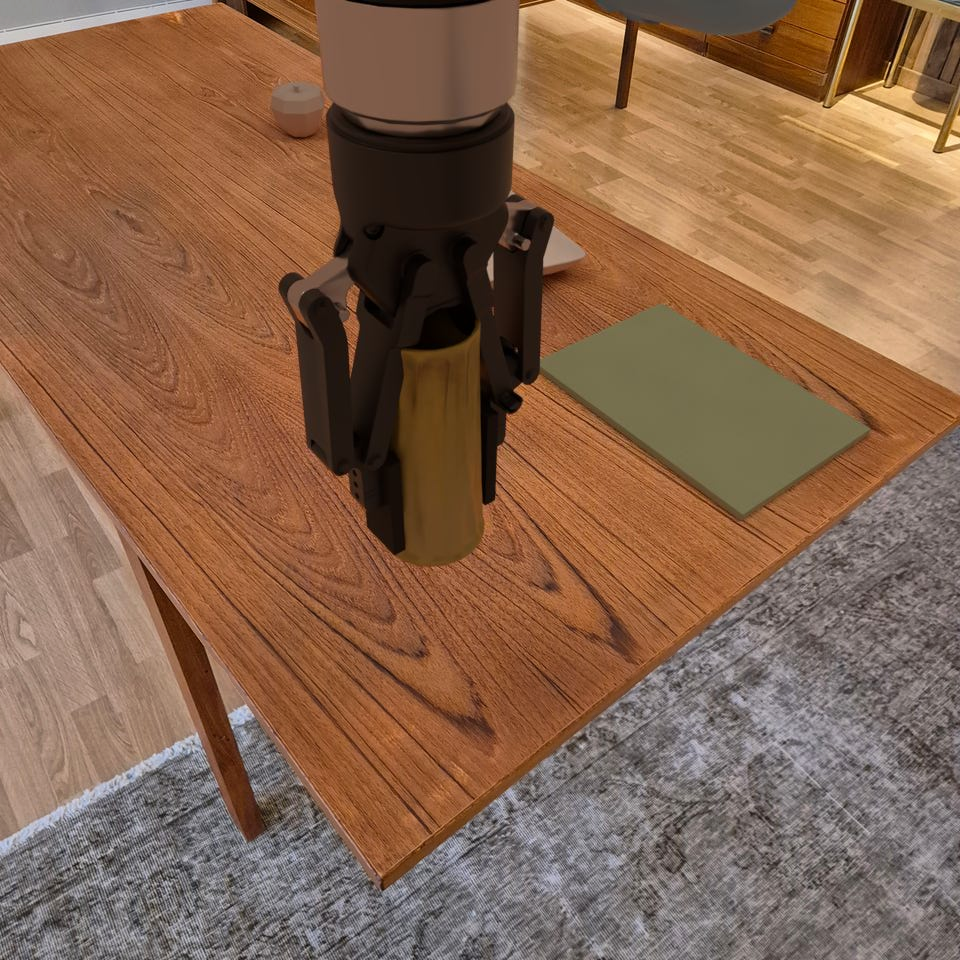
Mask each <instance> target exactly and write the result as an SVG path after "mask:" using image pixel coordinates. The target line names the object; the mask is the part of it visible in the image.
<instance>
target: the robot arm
mask: <svg viewBox="0 0 960 960" xmlns="http://www.w3.org/2000/svg"><path fill="white" fill-rule="evenodd" d="M520 1H521V0H314V9H315V15H316V16H315V18H316V27H317V36H318V46H319V48H318V49H319V59H320V66H321V67H320V68H321V77H322V86H323V93H325V95H326V96H327V98H328V99H329V100H330V101H331V102H332V103H331V105H330V106H329V108H328V109H327V110H326V114H325V124H326V135H327V144H328V155H329V163H330V164H329V165H330V173H331V183H332V190H333V195H334V199H335V202H336V206H337V208H338V209H337V210H338V214H339V228H338V232H337V237H336V239H335V242H334V245H333V248H332V255H333V258H332V259H331V260H329V261H328V262H327V263H325V264H324V265H322V266H321V267H320V268H318V269H317V270H315V271H314V272H312V273H311V274H309V275H308V276H307V277H304V276H303V275H302V274H300V273H298V272H296V271H293V272H288V273H285V275H284V276H282V278H281V279H280V281H279V283H278V293H279V295H280V297H281V299H282V301H283V303H284V304H285V306H286V308H287V310H288V312H289V314H290V316H291V317H292V320H293V321H294V327H295V328H294V329H295V338H296V339H295V340H296V348H297V349H296V350H297V358H298V359H297V360H298V369H299V380H300V389H301V390H300V391H301V399H302V400H301V401H302V410H303V420H304V431H305V441H306V442H305V443H306V446H307V449H308V450H310V452H312V453H313V454H314V455H315V457H316V458H318V459H319V461H320V462H322V464H323V465H324V466H325V467H326V468H327V469H328V470H329V471H330V472H331V473H332V474H334V476H336V477H343V476H346V475H347V476H348V484H349V493H350V495H351V496H352V498H353V499H354V500H355V501H356V502H357V503H358V504H359V505H360V506H361V507H362V508H363V509H364V511H365V521H366V528H367V529H368V530H369V531H370V532H371V534H373V535H374V536H375V537H376V538H377V540H378V541H379V542H380V543H382V545H383V546H384V547H385V546H386V547H385V548H386V550H387V549H388V550H389V551H390V552H391V553H392V554H391V553H390V552H389V551H388V550H387V551H388V552H389V553H390V554H391V555H392V556H394V557H395V555H397V554H398V553H400V552H402V551H404V550H406V547H405V530H404V513H403V497H402V480H401V463H400V461H399V460H398V459H397V458H396V457H395V456H394V455H393V454H392V453H391V452H390V451H389V450H388V447H389V443H390V438H391V434H392V429H393V425H394V420H395V415H396V411H397V406H398V402H399V397H400V393H401V388H402V383H403V379H404V369H403V360H402V356H401V351H402V350H403V349H404V348H411V347H412V346H416V345H417V344H418V343H419V340H420V336H421V331H422V327H423V322H424V319H425V318H426V317H428V316H429V315H431V314H432V313H434V312H435V311H436V310H438V309H441V308H445V310H446V312H447V313H448V315H449V317H450V318H451V320H452V321H453V323H454V324H455V325H456V327H457V328H458V329H459V330H460V331H461V332H462V333H463V334H465V335H466V336H469V335H471V334H472V332H473V330H474V328H475V320H476V319H478V318H479V319H480V322H481V328H480V421H481V472H482V479H481V481H482V504H483V505H484V506H488V505H489V504H491V503H493V502H495V501H496V492H497V491H496V489H497V470H498V469H497V468H498V466H497V465H498V447H499V446H501V445H504V441H505V439H506V436H507V418H508V417H507V416H508V415H514V414H516V413H517V412H518V411H519V410H520V409H521V407H522V405H523V403H524V397H522V396H521V395H520V394H519V393H517V392H516V391H515V389H517V388H518V387H519V386H520V385H521V384H523V385H525V386H530V385H532V384H533V383H535V382H536V380H537V379H538V377H539V375H540V373H539V372H540V359H541V348H542V347H541V345H542V343H541V342H542V313H543V287H544V286H543V285H544V275H543V258H544V255H545V252H546V248H547V245H548V242H549V238H550V235H551V232H552V228H553V226H555V225H554V224H555V217H554V215H553V213H551V212H550V211H548V210H546V209H545V208H543V207H541V206H539V205H537V204H536V203H534V202H532V201H530V200H528V199H527V198H525V197H523V196H521V195H520V194H517V193H515V194H512V195H510V196H509V193H510V191H512V187H513V186H512V185H513V168H514V147H515V145H514V143H515V121H516V115H515V112H514V109H513V108H512V106H511V105H510V104H509V103H508V102H509V101H510V100H511V99H512V98H513V97H514V96H515V95H516V90H517V83H518V62H519V31H520V30H519V29H520V3H521V2H520ZM592 1H593V2H594V3H595V4H596V5H597V6H598V7H599V8H600V9H602V10H604V11H606V12H608V13H619V14H621V15H622V16H623V17H624V18H625V19H627V20H630V21H632V22H635V23H641V24H649V25H654V26H657V25H659V24H663V25H668V26H671V27H676V28H681V29H684V30H689V31H693V32H696V33H701V34H705V35H709V36H710V35H711V36H723V37H726V36H727V37H728V36H729V37H731V36H740V35H745V34H750V33H754V32H758V31H760V30H763V29H765V28H767V27H769V26H771V25H773V24H775V23H777V22H778V21H780V20H781V19H783V18H784V17H786V16H787V15H789V14H791V12H792V11H793V10H794V8H795V7H796V4H797V2H798V0H592ZM508 196H509V197H508ZM492 253H493V289H494V290H492V287H491V283H490V279H489V276H488V272H487V266H488V261H489V259H490V257H491V255H492ZM353 286H355V288H357V289H358V290H359V291H358V295H357V296H358V297H357V302H356V308H355V315H356V319H357V322H358V326H359V328H358V334H357V339H356V345H355V350H354V356H353V362H352V366H351V365H350V350H349V339H348V335H347V331H346V328H345V326H344V323H346V322H347V321H348V320H349V319H350V317H351V312H350V310H349V309H348V301H347V298H348V297H347V296H348V293H349V292H350V291H349V290H350V289H351V288H352V287H353ZM350 367H351V368H350Z"/></svg>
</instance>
